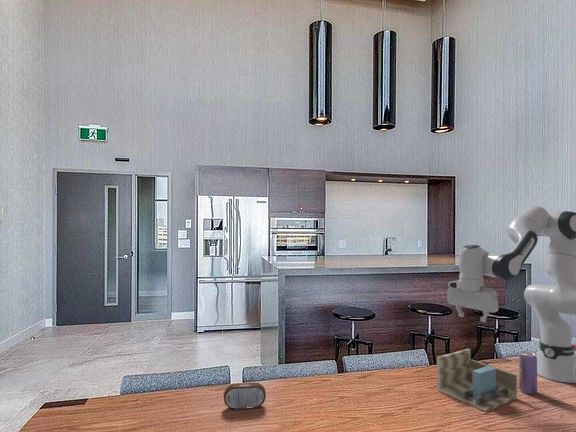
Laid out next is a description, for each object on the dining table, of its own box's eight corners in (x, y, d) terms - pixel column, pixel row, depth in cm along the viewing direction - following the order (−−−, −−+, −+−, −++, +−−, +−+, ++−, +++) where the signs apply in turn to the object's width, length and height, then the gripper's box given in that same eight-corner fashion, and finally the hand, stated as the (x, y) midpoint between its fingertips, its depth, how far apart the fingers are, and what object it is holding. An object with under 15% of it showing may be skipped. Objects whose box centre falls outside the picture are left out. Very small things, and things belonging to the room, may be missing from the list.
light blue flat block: (488, 391, 143) (488, 365, 143) (496, 394, 140) (495, 368, 141) (472, 397, 138) (472, 370, 138) (480, 401, 135) (480, 373, 136)
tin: (265, 404, 135) (265, 381, 135) (266, 408, 132) (266, 384, 132) (223, 407, 132) (223, 383, 133) (223, 411, 129) (223, 387, 130)
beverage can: (540, 395, 142) (539, 356, 142) (523, 394, 143) (522, 355, 144) (533, 389, 148) (532, 351, 148) (516, 387, 149) (516, 350, 149)
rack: (468, 379, 157) (467, 348, 157) (516, 398, 140) (516, 364, 140) (437, 389, 147) (436, 357, 147) (485, 412, 129) (485, 374, 130)
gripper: (501, 287, 143) (502, 323, 143) (453, 281, 160) (454, 313, 160) (492, 289, 140) (493, 326, 139) (444, 282, 157) (445, 315, 157)
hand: (472, 319), depth 150 cm, fingers open, 8 cm apart
